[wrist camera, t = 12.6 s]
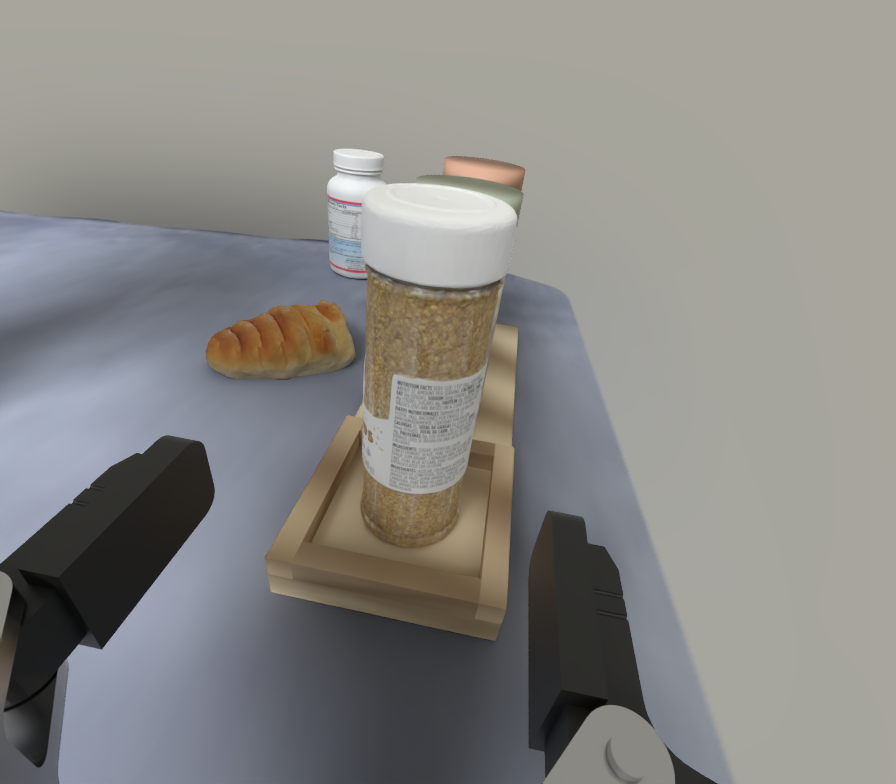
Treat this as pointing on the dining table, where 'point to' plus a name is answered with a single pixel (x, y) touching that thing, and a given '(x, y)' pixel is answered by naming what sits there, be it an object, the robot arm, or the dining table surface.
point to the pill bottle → (350, 207)
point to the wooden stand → (481, 497)
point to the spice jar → (426, 348)
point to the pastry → (284, 343)
